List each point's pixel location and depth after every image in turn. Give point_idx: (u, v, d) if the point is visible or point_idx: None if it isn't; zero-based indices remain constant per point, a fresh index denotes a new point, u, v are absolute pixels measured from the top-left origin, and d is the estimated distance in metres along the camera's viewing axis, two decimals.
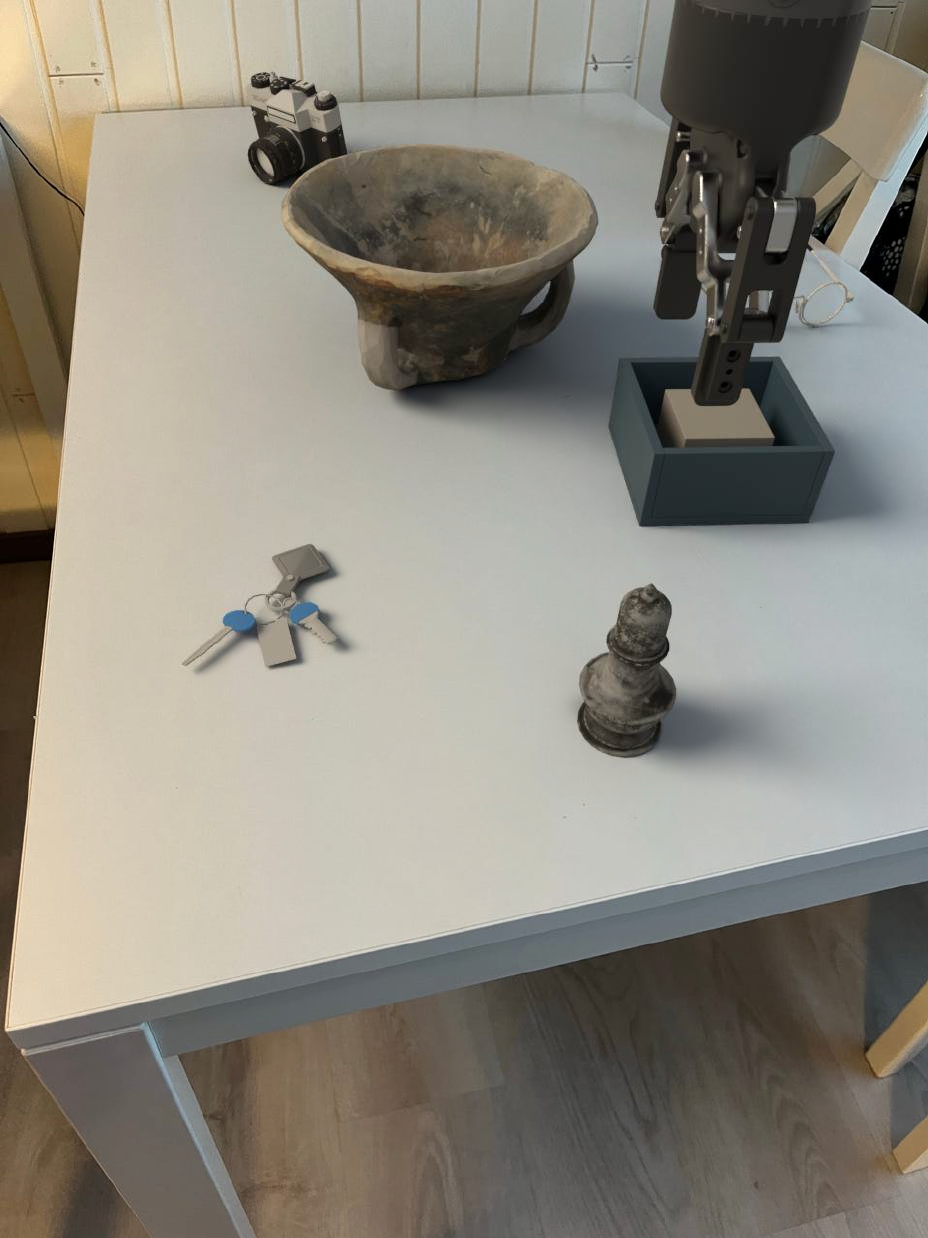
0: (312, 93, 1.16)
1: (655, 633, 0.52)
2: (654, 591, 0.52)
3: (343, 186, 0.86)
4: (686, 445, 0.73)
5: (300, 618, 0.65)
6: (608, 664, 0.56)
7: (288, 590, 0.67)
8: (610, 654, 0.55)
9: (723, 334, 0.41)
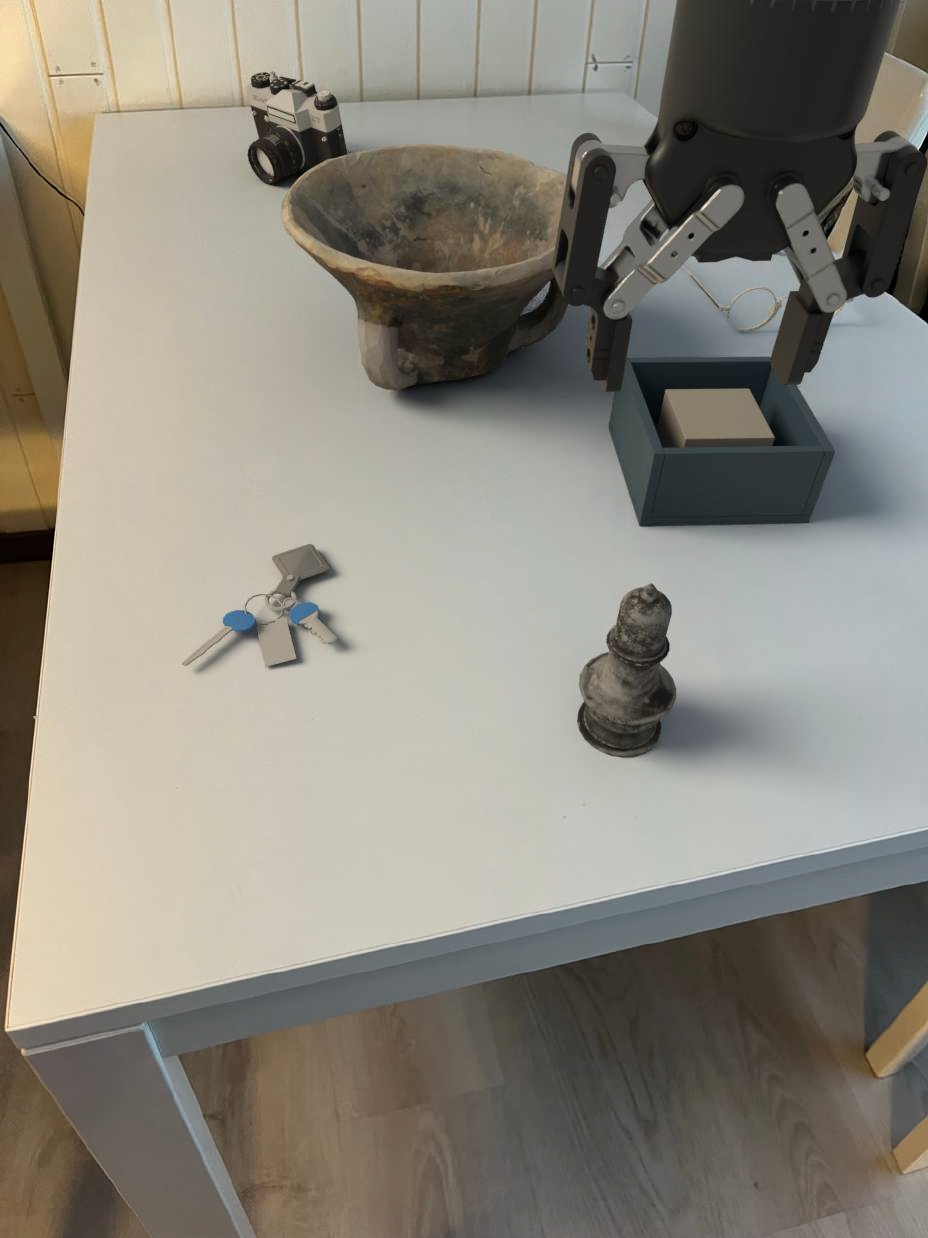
0: (312, 93, 1.16)
1: (655, 633, 0.52)
2: (654, 591, 0.52)
3: (343, 186, 0.86)
4: (686, 445, 0.73)
5: (300, 618, 0.65)
6: (608, 664, 0.56)
7: (288, 590, 0.67)
8: (610, 654, 0.55)
9: None
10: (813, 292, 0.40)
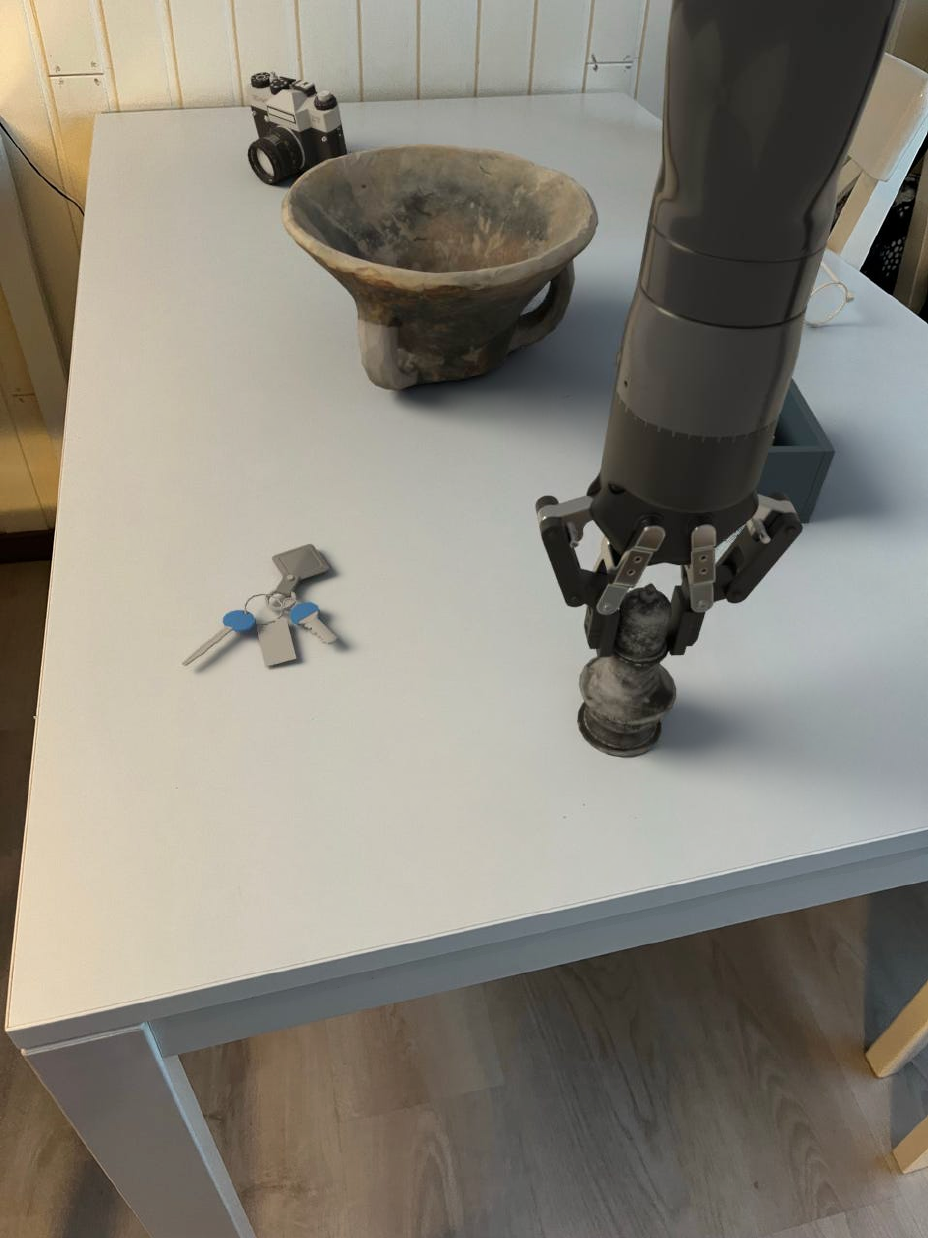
0: (312, 93, 1.16)
1: (655, 633, 0.52)
2: (654, 591, 0.52)
3: (343, 186, 0.86)
4: None
5: (300, 618, 0.65)
6: (608, 664, 0.56)
7: (288, 590, 0.67)
8: None
9: None
10: (691, 595, 0.51)
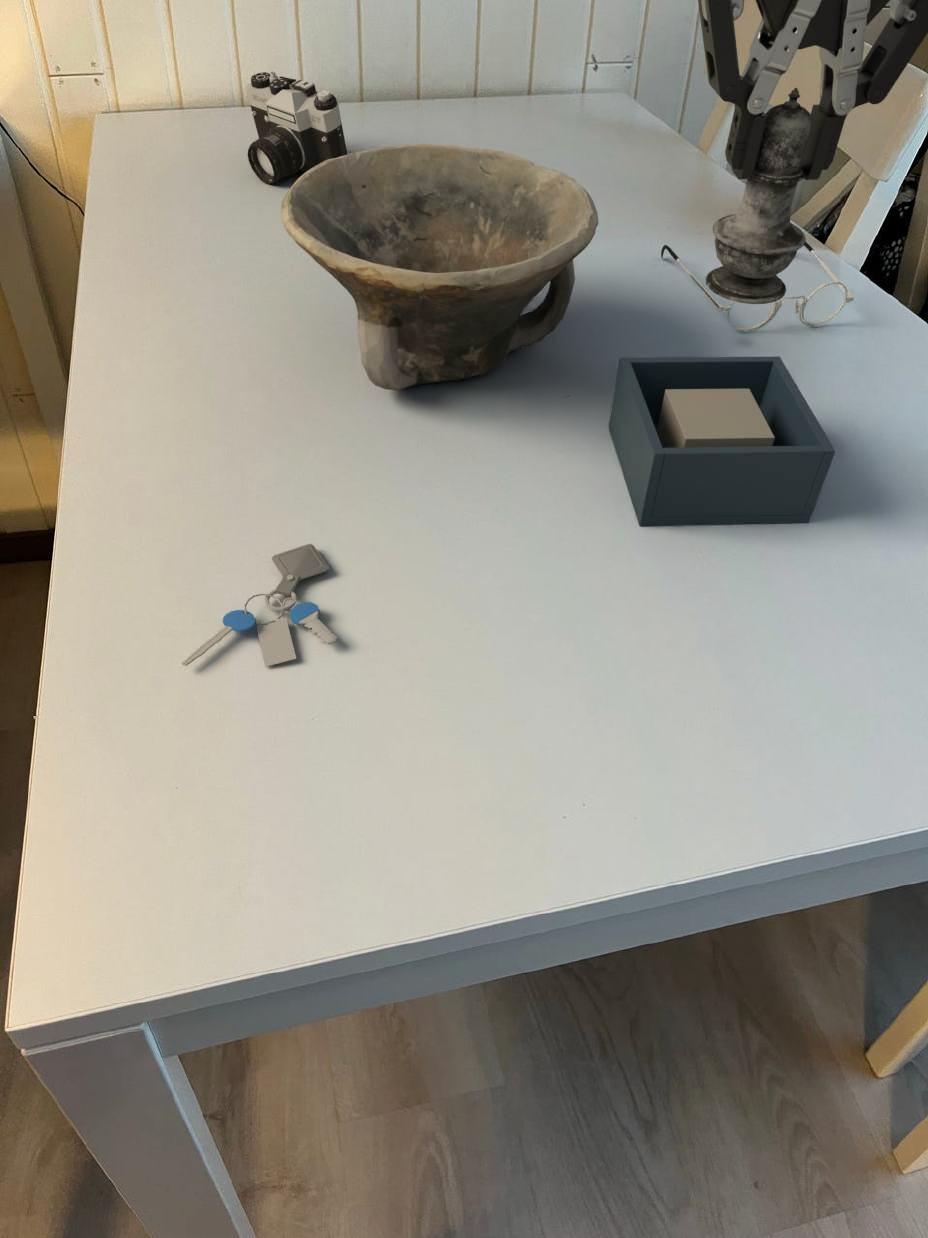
0: (312, 93, 1.16)
1: (797, 140, 0.56)
2: (798, 95, 0.55)
3: (343, 186, 0.86)
4: (686, 445, 0.73)
5: (300, 618, 0.65)
6: (745, 199, 0.59)
7: (288, 590, 0.67)
8: (748, 185, 0.59)
9: None
10: (835, 90, 0.54)
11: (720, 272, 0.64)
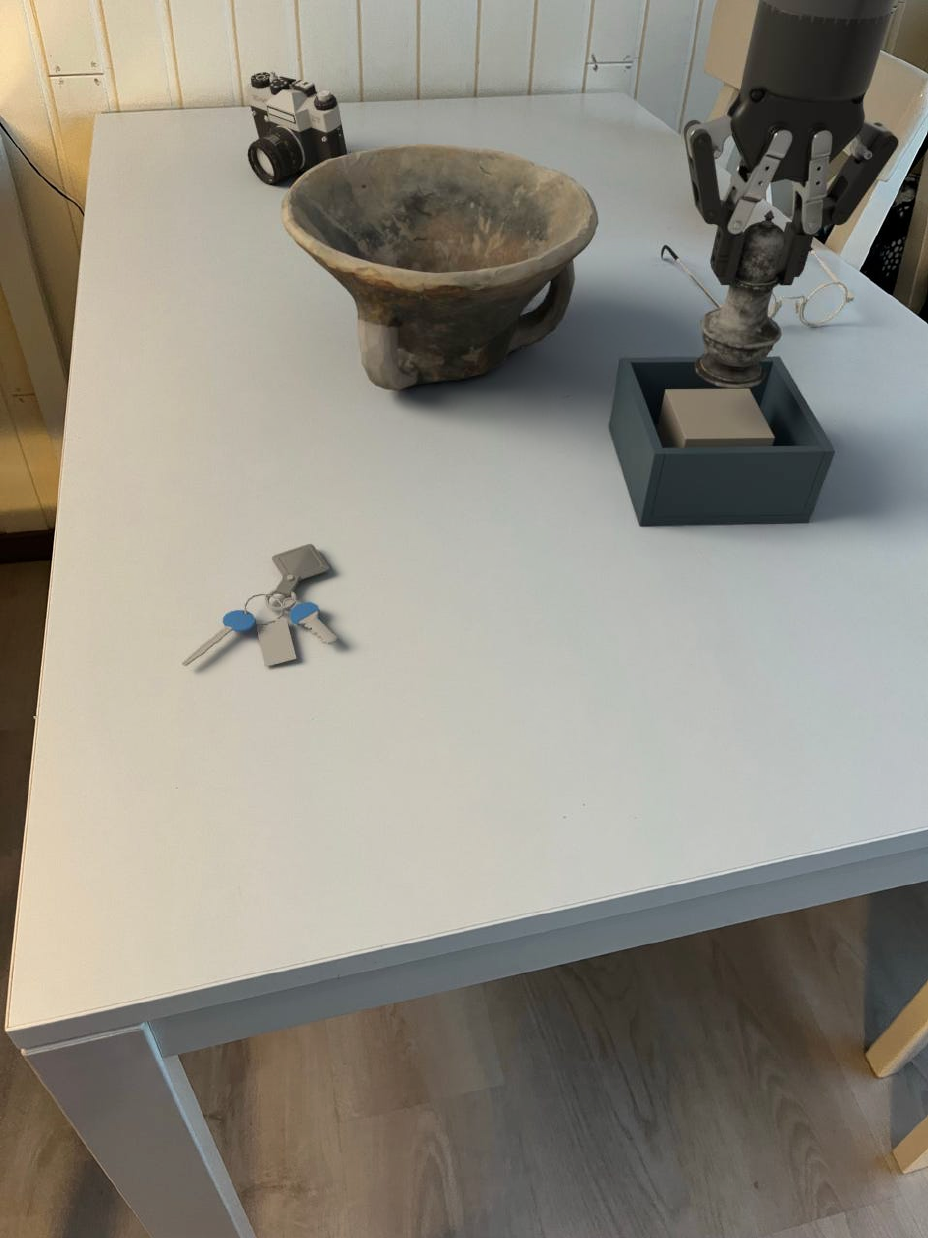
0: (312, 93, 1.16)
1: (772, 255, 0.65)
2: (772, 217, 0.64)
3: (343, 186, 0.86)
4: (686, 445, 0.73)
5: (300, 618, 0.65)
6: (728, 299, 0.68)
7: (288, 590, 0.67)
8: (730, 288, 0.68)
9: None
10: (804, 214, 0.63)
11: (707, 358, 0.72)
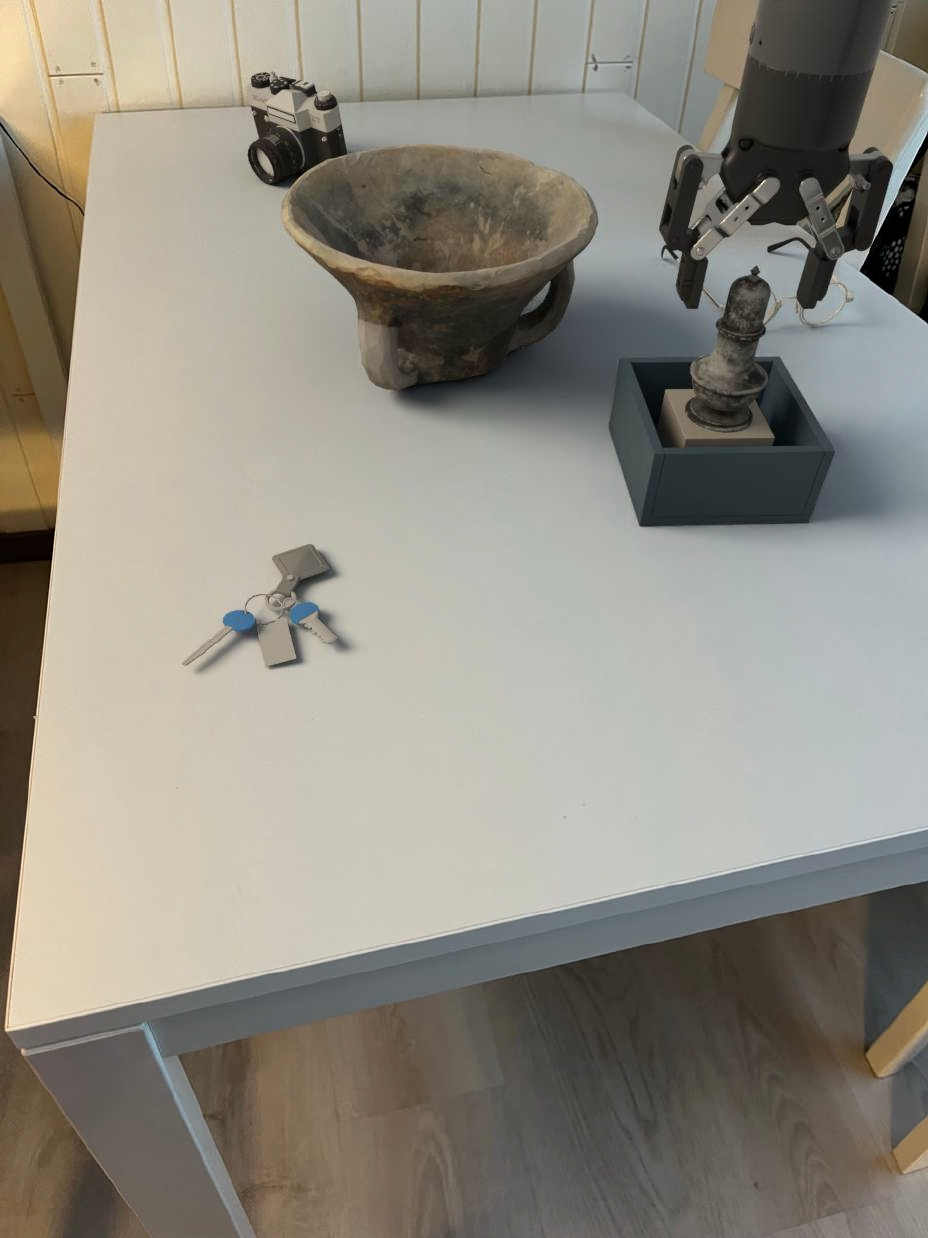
0: (312, 93, 1.16)
1: (758, 307, 0.67)
2: (758, 272, 0.67)
3: (343, 186, 0.86)
4: (686, 445, 0.73)
5: (300, 618, 0.65)
6: (716, 348, 0.71)
7: (288, 590, 0.67)
8: (718, 338, 0.70)
9: None
10: (823, 246, 0.65)
11: (696, 402, 0.75)
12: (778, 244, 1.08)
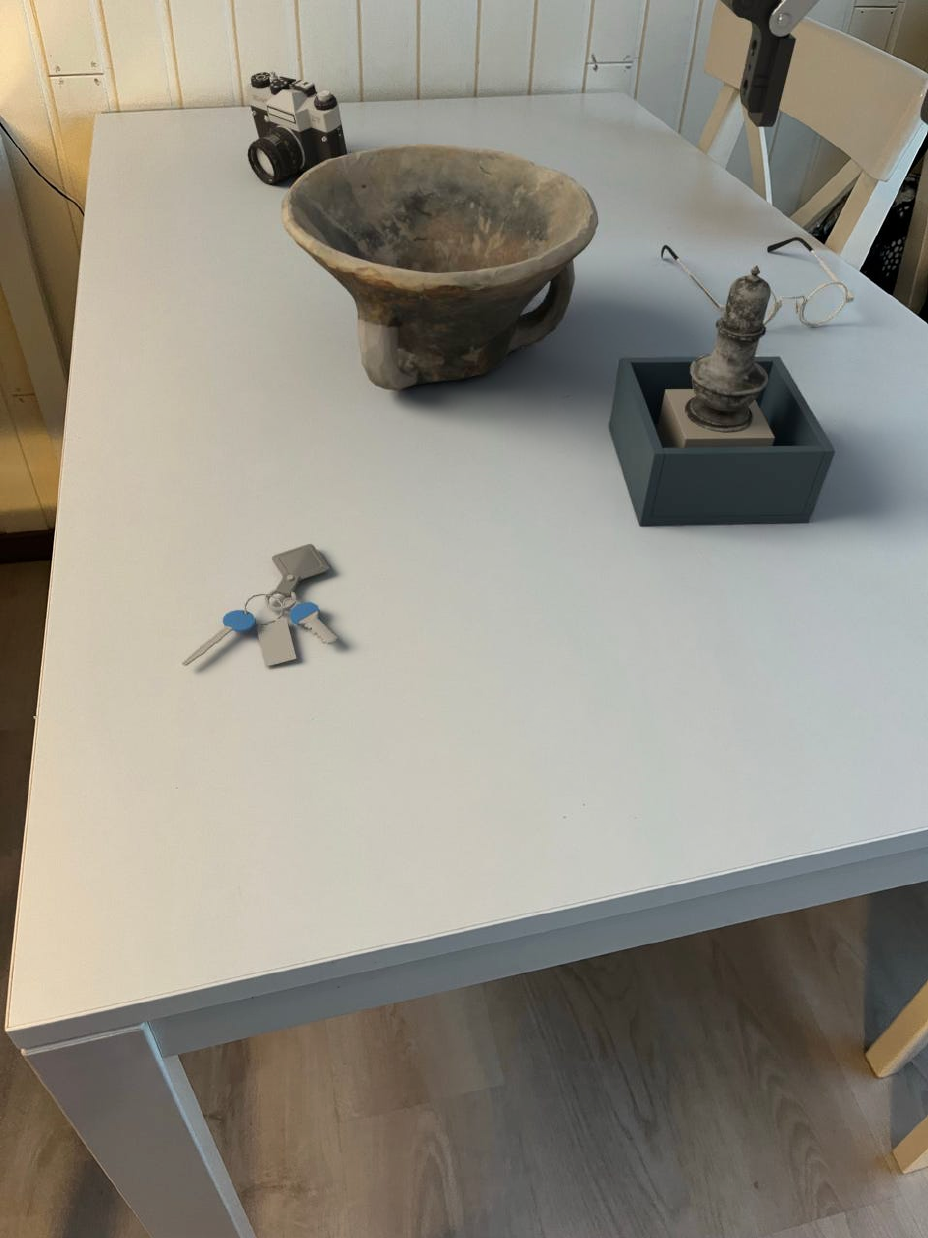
0: (312, 93, 1.16)
1: (758, 307, 0.67)
2: (758, 272, 0.67)
3: (343, 186, 0.86)
4: (686, 445, 0.73)
5: (300, 618, 0.65)
6: (716, 348, 0.71)
7: (288, 590, 0.67)
8: (718, 338, 0.70)
9: None
10: None
11: (697, 402, 0.75)
12: (778, 244, 1.08)
